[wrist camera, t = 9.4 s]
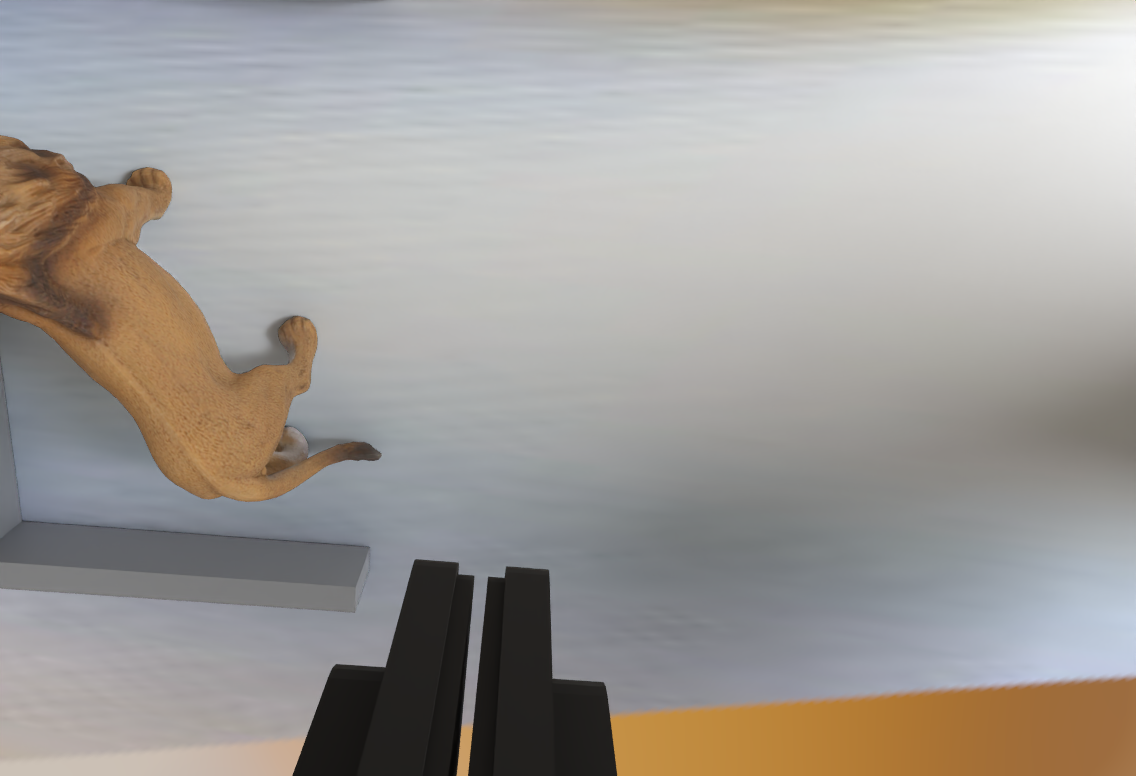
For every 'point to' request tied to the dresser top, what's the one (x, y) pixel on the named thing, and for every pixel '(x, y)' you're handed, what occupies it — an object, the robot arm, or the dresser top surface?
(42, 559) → the box
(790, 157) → the dresser top surface
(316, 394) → the dresser top surface
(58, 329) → the lion figurine
